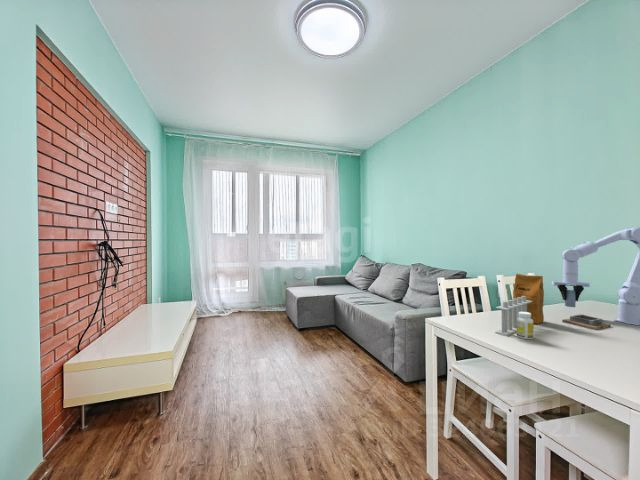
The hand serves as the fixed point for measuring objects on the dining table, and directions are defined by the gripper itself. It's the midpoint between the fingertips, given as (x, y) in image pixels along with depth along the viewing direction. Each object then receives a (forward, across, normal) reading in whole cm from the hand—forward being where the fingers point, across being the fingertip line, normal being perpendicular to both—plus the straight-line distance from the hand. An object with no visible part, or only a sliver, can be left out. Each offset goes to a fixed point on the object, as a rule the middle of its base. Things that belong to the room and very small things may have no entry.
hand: (570, 300), depth 141 cm
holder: (+8, 0, +15) cm, 17 cm away
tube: (+3, 0, 0) cm, 3 cm away
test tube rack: (+8, +32, +33) cm, 47 cm away
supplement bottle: (+8, +31, +43) cm, 54 cm away
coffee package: (+8, +23, +16) cm, 29 cm away
